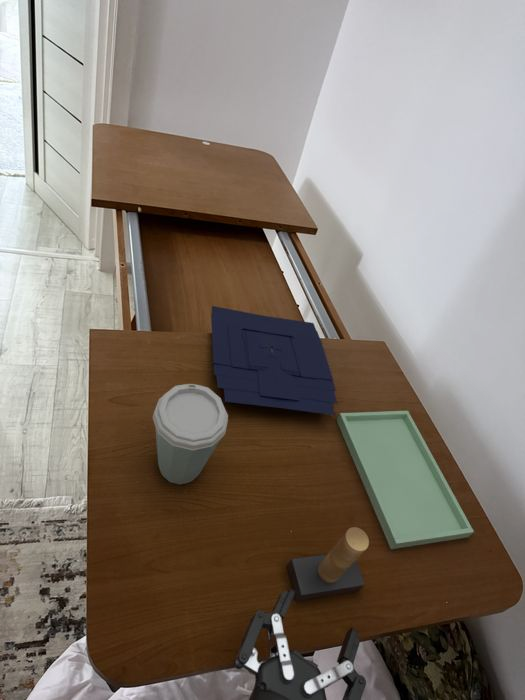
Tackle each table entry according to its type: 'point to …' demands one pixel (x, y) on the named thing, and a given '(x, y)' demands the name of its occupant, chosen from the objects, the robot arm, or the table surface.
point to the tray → (402, 479)
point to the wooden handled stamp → (330, 569)
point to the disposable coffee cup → (187, 430)
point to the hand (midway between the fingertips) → (321, 611)
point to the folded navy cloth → (271, 362)
